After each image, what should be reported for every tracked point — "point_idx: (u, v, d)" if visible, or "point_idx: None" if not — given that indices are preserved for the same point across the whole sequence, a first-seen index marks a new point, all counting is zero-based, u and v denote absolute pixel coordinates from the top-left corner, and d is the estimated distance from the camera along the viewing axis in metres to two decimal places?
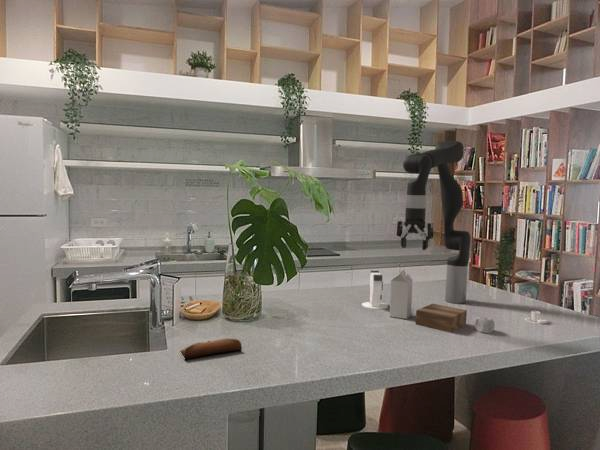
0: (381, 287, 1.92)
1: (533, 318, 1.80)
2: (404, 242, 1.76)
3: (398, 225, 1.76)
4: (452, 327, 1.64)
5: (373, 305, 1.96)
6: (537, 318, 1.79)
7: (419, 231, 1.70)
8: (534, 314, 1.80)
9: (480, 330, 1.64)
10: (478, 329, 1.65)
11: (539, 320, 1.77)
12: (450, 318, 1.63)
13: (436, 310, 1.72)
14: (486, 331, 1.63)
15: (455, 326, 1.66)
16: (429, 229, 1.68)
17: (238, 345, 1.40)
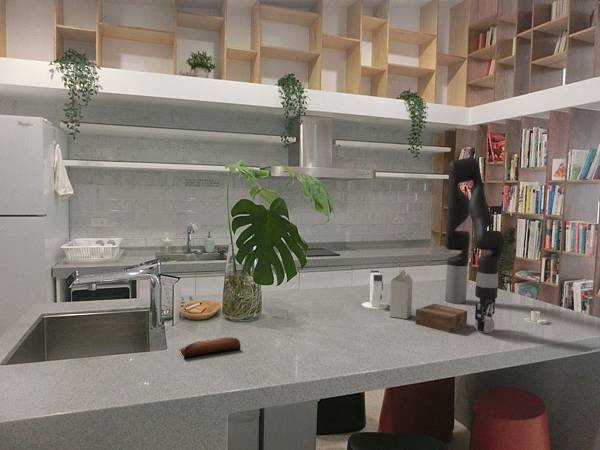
0: (381, 287, 1.92)
1: (533, 318, 1.80)
2: None
3: (482, 309, 1.60)
4: (451, 327, 1.64)
5: (373, 305, 1.96)
6: (537, 318, 1.79)
7: (492, 309, 1.66)
8: (534, 314, 1.79)
9: None
10: None
11: (539, 320, 1.77)
12: (449, 318, 1.63)
13: (436, 310, 1.72)
14: (486, 331, 1.63)
15: (455, 326, 1.66)
16: (494, 304, 1.69)
17: (237, 344, 1.41)
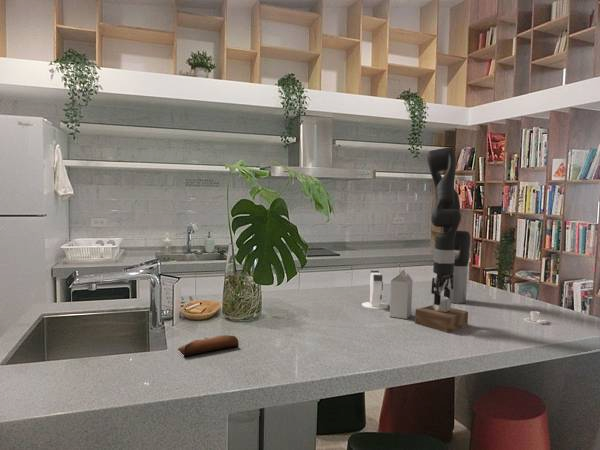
0: (381, 287, 1.92)
1: (532, 318, 1.80)
2: None
3: (438, 283, 1.66)
4: (449, 328, 1.64)
5: (373, 305, 1.96)
6: (536, 318, 1.79)
7: (450, 284, 1.73)
8: (533, 314, 1.79)
9: (437, 309, 1.71)
10: (435, 308, 1.72)
11: (538, 320, 1.77)
12: (446, 318, 1.63)
13: None
14: (442, 310, 1.70)
15: (453, 327, 1.66)
16: (453, 279, 1.76)
17: (235, 341, 1.43)
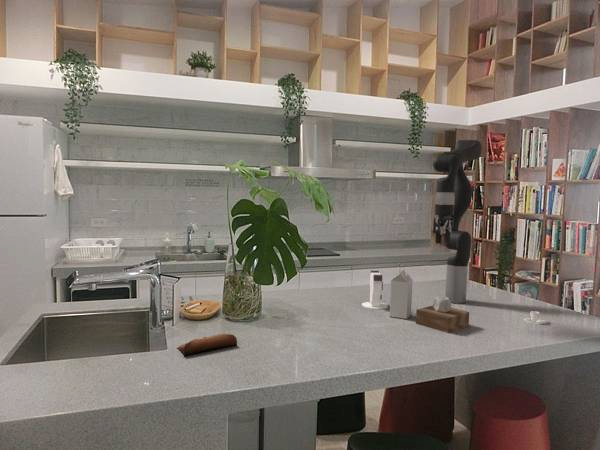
0: (381, 287, 1.92)
1: (532, 318, 1.80)
2: None
3: (439, 222, 1.79)
4: (450, 328, 1.64)
5: (373, 305, 1.96)
6: (536, 318, 1.79)
7: (450, 225, 1.86)
8: (533, 314, 1.79)
9: (437, 309, 1.71)
10: (435, 308, 1.72)
11: (538, 320, 1.77)
12: (447, 319, 1.63)
13: None
14: (442, 310, 1.70)
15: (454, 327, 1.66)
16: (453, 222, 1.89)
17: (234, 340, 1.44)
